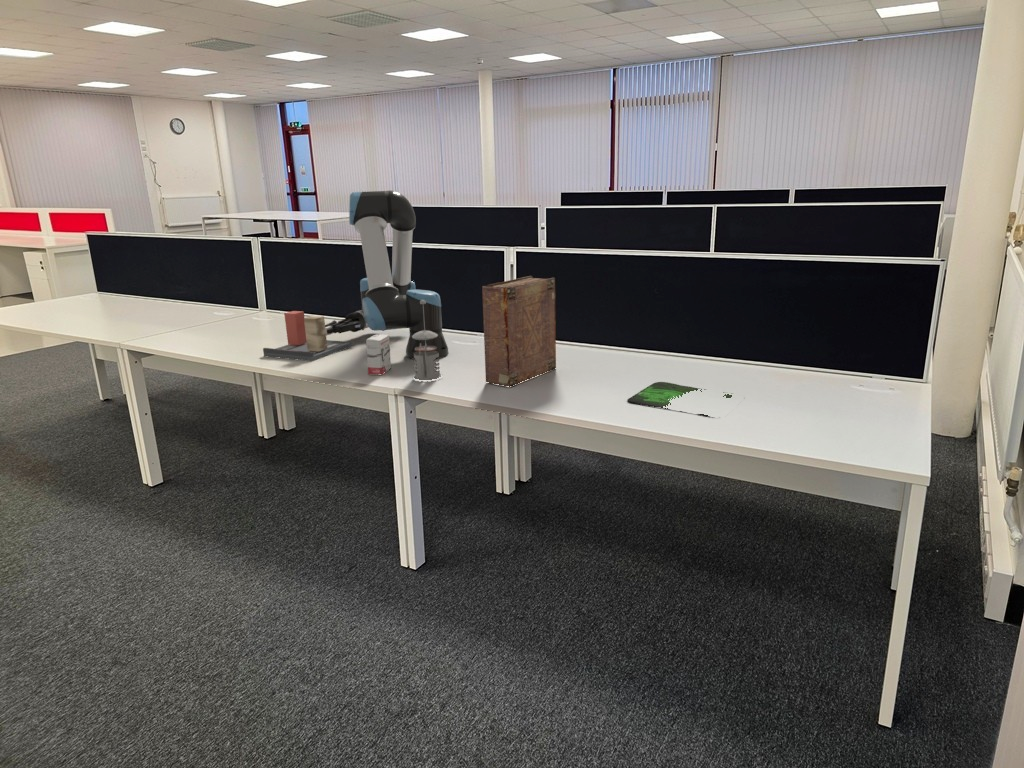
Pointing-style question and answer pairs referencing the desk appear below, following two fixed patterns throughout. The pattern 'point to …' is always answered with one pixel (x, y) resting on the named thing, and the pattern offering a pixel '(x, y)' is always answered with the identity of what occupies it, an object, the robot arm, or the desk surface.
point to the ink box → (378, 354)
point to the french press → (426, 355)
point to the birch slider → (315, 333)
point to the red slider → (295, 327)
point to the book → (519, 329)
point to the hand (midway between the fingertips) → (319, 333)
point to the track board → (306, 351)
